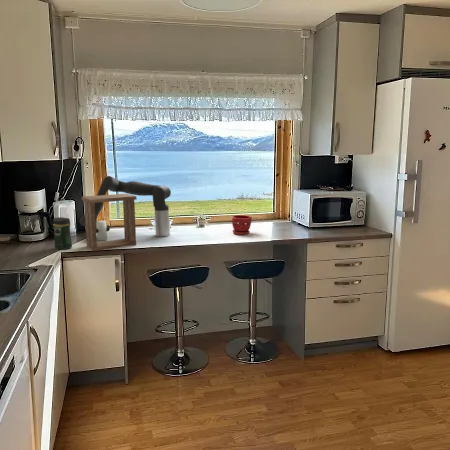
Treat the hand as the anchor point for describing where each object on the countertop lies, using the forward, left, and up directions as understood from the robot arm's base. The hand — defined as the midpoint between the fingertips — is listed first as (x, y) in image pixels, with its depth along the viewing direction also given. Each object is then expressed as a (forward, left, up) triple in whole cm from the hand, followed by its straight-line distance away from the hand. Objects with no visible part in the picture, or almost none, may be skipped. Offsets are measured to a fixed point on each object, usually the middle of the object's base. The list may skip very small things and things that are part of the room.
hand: (102, 230), depth 275 cm
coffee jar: (+26, -8, -7) cm, 28 cm away
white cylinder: (-1, -2, -7) cm, 7 cm away
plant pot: (-58, +70, -7) cm, 92 cm away
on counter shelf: (+8, +13, -7) cm, 17 cm away
